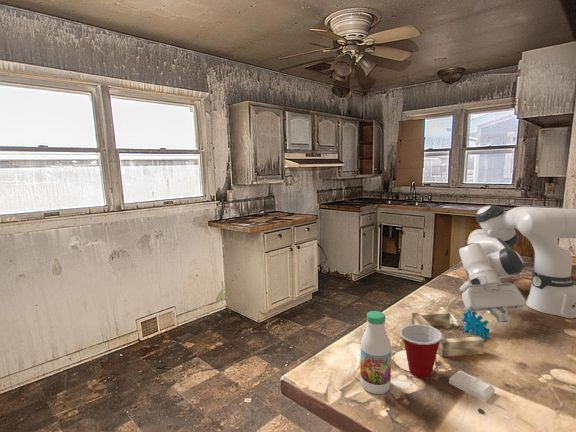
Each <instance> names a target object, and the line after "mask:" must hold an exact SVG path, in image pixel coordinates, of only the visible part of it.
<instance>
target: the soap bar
mask: <svg viewBox="0 0 576 432" xmlns="http://www.w3.org/2000/svg"><path fill="white" fill-rule="evenodd" d="M448 384H450V385H451V386H453V387H455V388H457V389H459V390H461V391H463V392H465V393H467V394H469V395H470V394H471V396H472V395H473V396H472V397H475V399H478V400H480V399H481V400H480V401H482V400H483V401H485V402H484V403H486V402H487V401H489V398H490V397H491V396H492V395H493V394H494V395H495V390H496V388H494V387H493V386H492V384H489V383H488V382H485V381H484V380H481V379H479V378H478V377H476V376H473V375H471V374H469V373H467V372H465V371H463V370H458V371H456V372H455V373H454V374H453V375H452V376H450V377H449V378H448ZM494 395H493V396H494ZM491 398H492V397H491ZM491 398H490V399H491ZM483 401H482V402H483Z"/></svg>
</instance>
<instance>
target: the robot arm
mask: <svg viewBox="0 0 576 432" xmlns="http://www.w3.org/2000/svg"><path fill="white" fill-rule="evenodd" d="M474 217H475V219H476V222H477V223H478V224H479V227H481V228H478V229H475V230H473V231H471V232H470V233H469V235H468V238H467V242H466V243H467V244H465V245H463V246H462V247H460V248H459V250H458V252H459V256H460V259H461V262H462V265H463V268H464V272H465V273H466V275H467V277H468V280H467V281H465V282H464V283H463V284H462V285H461V286H460V287H459V291H460V292H461V293H462V294H461V299H462V302H463V305H464V307H465V309H466V311H468V310H470V311H471V312H473V311H475V312H484V311H489V313H490V314H491V315H492V316H493V317H494V318H496V322H497V323H499V324H500V323H508V322H510V319H509V317H508V313H509V311H508V310H512V309H514V310H515V309H521V308H523V307H525V306H527V307H528V308H531V309H533V310H535V311H538V312H540V313H544V314H548V315H552V316H558V317H562V318H566V319H574V318H575V319H576V285H575V282H574V281H576V275H572V269H573V268H572V266H573V256H572V254H571V253H570V251H568V250H567V249H565V248H563V247H561V246H560V245H559V239H576V208H565V207H564V208H563V207H562V208H561V207H542V206H541V207H537V206H529V205H526V206H525V205H524V206H522V205H521V206H516V207H513V208H510V209H509V210H505V208H504V207H503V206H498V205H494V204H492V205H491V204H490V205H485V206H483V207H480V209H479V210H478V211H476V213H475V215H474ZM516 230H518V232H520V234H521V235H522V236H524V237H525V238H527V240H528V241H529V242H530V243H531V246H532V248H533V251H534V263H533V265H534V268H533V270H532V272H531V281H532V282H531V285H530V289H529V294H528V296H527V299H525V297H524V295H523V294H522V292H521V291H520V290H519V289H518V287H517V285H515V284H513V283H512V282H510V281H507V282H501V280H500V279H503V278H507V277H509V276H514V275H518V274H520V273H521V272H522V271H523V270H524V267H525V263H524V260H523V258H522V257H521V255H520V254H519V253H518V251H516V250H514V249H513V248H511V247H513V246H515V245H516V244H517V243H518V242H519V240H520V237H519V234H518V232H517V231H516ZM498 311H499V312H500V313H501V314H500V313H499V312H498Z"/></svg>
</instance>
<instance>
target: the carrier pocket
mask: <svg viewBox="0 0 576 432" xmlns="http://www.w3.org/2000/svg"><path fill="white" fill-rule="evenodd" d="M411 314H412V316H411V325H414V324H419V325H427V326H431V327H439V326H441V327H442V326H443V327H444V326H450V325H451V322H450V321H451V313H450V311H448V310H439V311H425V312H412V313H411ZM484 346H485V340H484V339H482V338H481V336H480V337H475V336H469V337H465V336H464V337H454V338H452V337H451V338H445V337H444V336H443V335H442V338H441V340H440V343H439V347H438V350H437V353H438V354H439V355H440V357H442V358H443V357H456V356H457V357H458V356H469V355H472V356H473V355H483V354H484V348H485V347H484Z"/></svg>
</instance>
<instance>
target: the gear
mask: <svg viewBox="0 0 576 432" xmlns="http://www.w3.org/2000/svg"><path fill="white" fill-rule="evenodd" d="M477 315H478V313H477V311H470V310H466V311H465V312H464V313H462V316H463V317H462V319H461V321H462V322H464V323H465V324H464V325H463V326H464V329H463V330H464V332H465V333H467V332H468V333H469V335H470V336H473V335H475V334H476V335H475V336H474V337H481V338H482V339H484V341H486V340H487V338H489V337H490V334H489V333H490V330H491V329H490V328H488V327H487V326H488V324H489V320H488V319H486V320H483V316H482V315H478V316H477ZM476 316H477V317H476ZM482 320H483V321H482Z"/></svg>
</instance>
